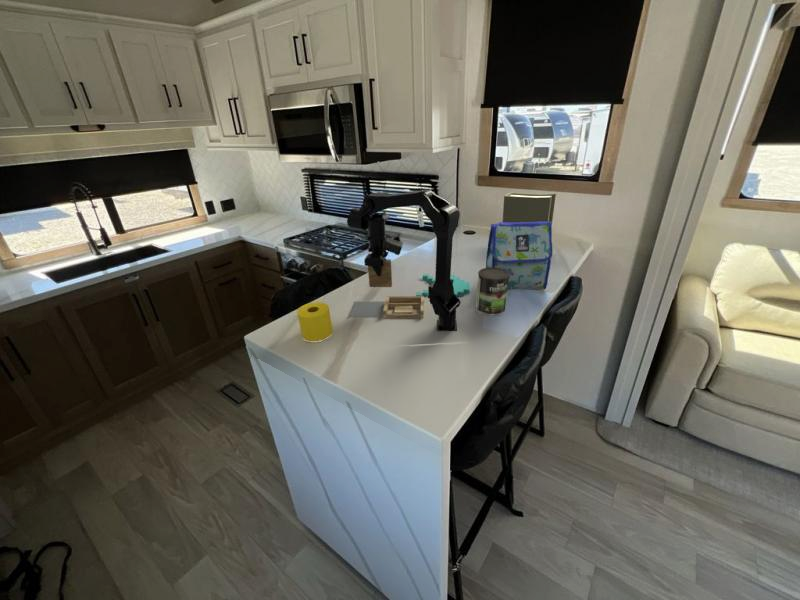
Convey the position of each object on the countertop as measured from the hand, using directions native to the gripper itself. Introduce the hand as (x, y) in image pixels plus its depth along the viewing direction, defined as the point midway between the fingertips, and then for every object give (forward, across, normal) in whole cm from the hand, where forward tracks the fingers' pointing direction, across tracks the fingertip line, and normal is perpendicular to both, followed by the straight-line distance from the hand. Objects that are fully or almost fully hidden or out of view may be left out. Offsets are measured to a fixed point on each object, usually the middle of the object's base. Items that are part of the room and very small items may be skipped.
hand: (379, 274), depth 125 cm
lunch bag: (+13, +19, -51) cm, 56 cm away
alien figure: (+14, +16, -23) cm, 32 cm away
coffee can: (+13, 0, -40) cm, 42 cm away
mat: (+14, -2, +5) cm, 15 cm away
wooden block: (+4, 0, 0) cm, 4 cm away
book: (+13, +60, -62) cm, 87 cm away
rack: (+13, -1, -9) cm, 16 cm away
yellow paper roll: (+14, -18, +19) cm, 30 cm away
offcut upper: (+13, -4, -9) cm, 16 cm away
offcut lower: (+14, -4, -9) cm, 17 cm away
